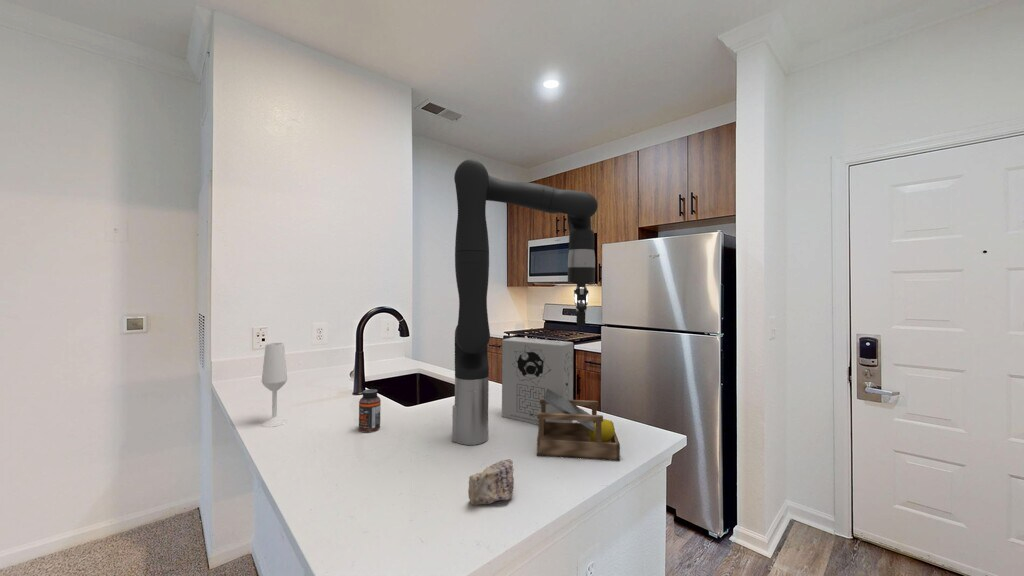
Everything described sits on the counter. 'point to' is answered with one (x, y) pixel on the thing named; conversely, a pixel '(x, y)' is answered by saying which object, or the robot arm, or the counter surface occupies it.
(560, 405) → the trapdoor
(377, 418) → the supplement bottle
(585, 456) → the stand
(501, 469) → the mineral specimen
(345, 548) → the counter surface
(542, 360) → the cereal box
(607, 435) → the lemon
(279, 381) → the champagne flute
